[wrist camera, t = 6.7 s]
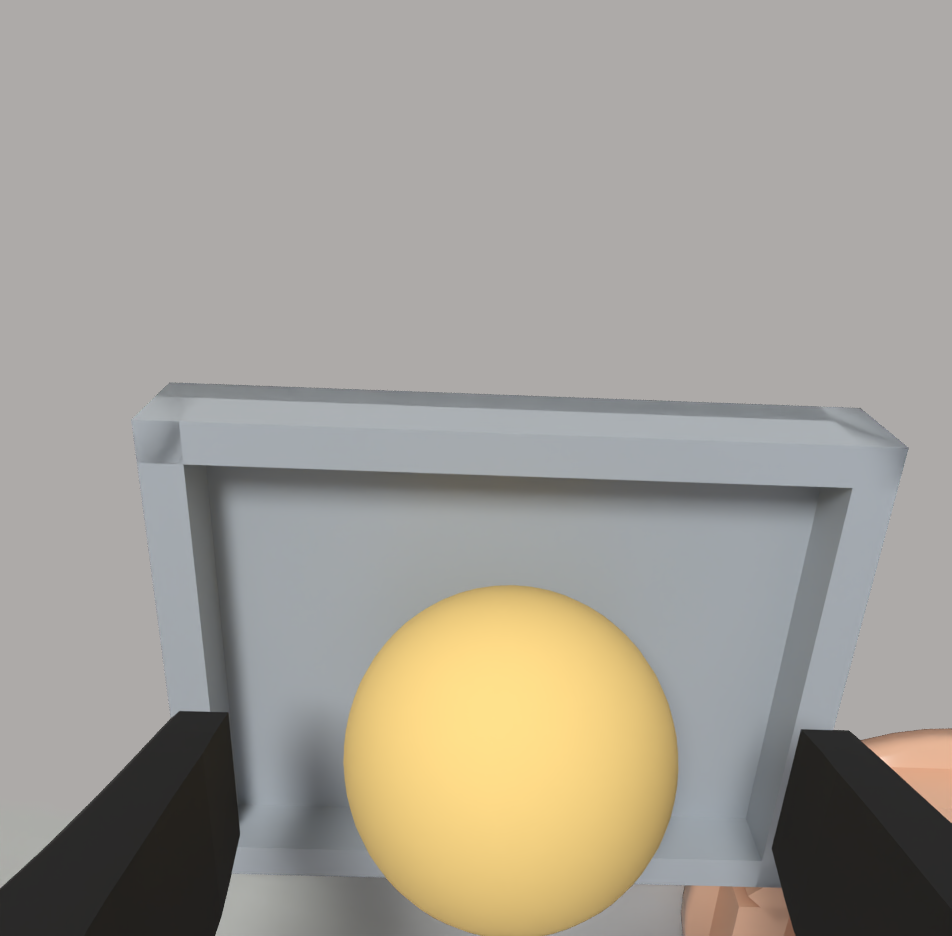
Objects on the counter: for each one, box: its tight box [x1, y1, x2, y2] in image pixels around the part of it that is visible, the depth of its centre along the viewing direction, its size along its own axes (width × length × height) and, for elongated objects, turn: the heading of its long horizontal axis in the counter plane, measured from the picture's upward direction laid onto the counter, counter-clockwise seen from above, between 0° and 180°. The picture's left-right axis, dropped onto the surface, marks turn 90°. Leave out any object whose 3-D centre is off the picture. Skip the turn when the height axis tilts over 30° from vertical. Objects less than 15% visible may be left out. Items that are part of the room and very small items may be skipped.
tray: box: [131, 383, 908, 888], centre depth 13 cm, size 10×8×2 cm
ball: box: [343, 585, 678, 936], centre depth 11 cm, size 4×4×4 cm
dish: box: [681, 729, 952, 936], centre depth 16 cm, size 8×8×1 cm
